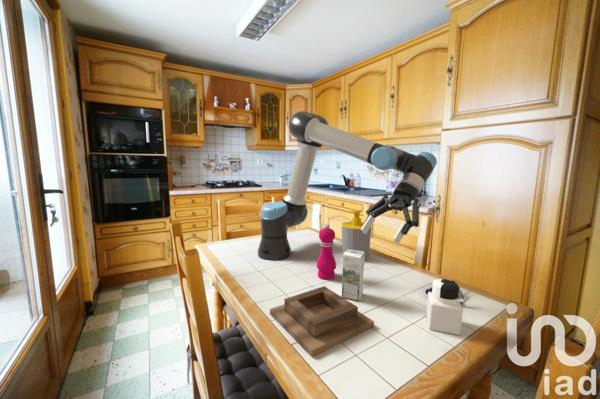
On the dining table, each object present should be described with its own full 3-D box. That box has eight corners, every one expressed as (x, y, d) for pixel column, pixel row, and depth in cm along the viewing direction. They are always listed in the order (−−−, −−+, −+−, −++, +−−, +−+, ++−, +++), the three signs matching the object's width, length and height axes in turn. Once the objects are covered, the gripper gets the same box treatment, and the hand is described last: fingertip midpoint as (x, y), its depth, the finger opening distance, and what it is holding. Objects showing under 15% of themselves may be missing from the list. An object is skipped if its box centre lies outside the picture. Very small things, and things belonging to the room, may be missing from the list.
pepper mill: (335, 281, 96) (336, 227, 93) (315, 279, 98) (315, 225, 95) (336, 273, 103) (337, 222, 100) (317, 271, 105) (318, 221, 102)
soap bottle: (339, 251, 128) (340, 207, 125) (366, 251, 127) (368, 207, 124) (342, 261, 115) (344, 213, 112) (373, 262, 114) (375, 213, 111)
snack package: (476, 315, 77) (463, 294, 88) (474, 294, 76) (462, 275, 87) (430, 315, 80) (424, 295, 91) (428, 295, 79) (421, 277, 90)
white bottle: (454, 320, 73) (458, 278, 72) (460, 336, 67) (465, 290, 65) (425, 315, 76) (429, 274, 74) (429, 330, 69) (432, 285, 67)
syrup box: (363, 293, 88) (364, 250, 85) (359, 302, 82) (360, 256, 80) (346, 290, 90) (347, 248, 88) (341, 298, 85) (342, 253, 83)
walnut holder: (269, 313, 76) (269, 297, 75) (325, 294, 87) (325, 280, 86) (311, 357, 59) (311, 336, 58) (373, 326, 70) (374, 308, 69)
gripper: (447, 199, 87) (417, 252, 81) (384, 192, 107) (356, 234, 101) (439, 183, 83) (407, 238, 77) (376, 179, 104) (346, 222, 98)
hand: (378, 236), depth 89 cm, fingers open, 13 cm apart
